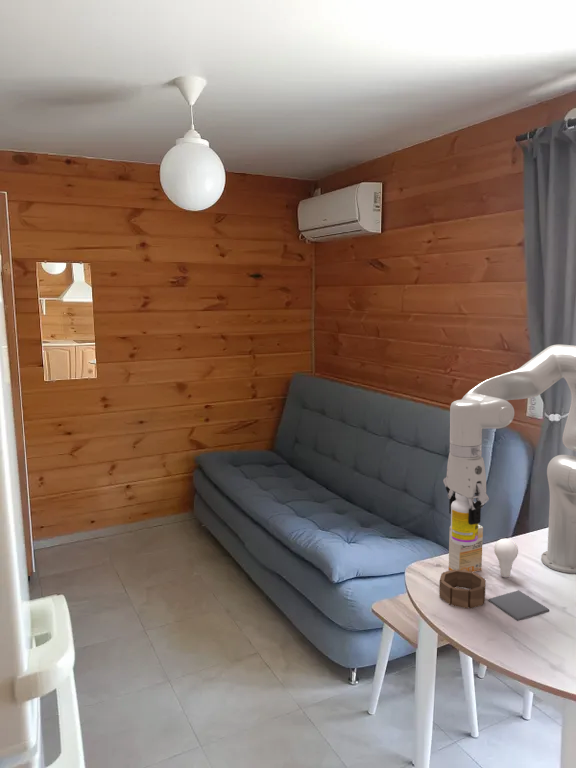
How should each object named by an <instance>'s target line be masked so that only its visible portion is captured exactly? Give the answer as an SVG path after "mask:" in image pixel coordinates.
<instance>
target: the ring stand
mask: <svg viewBox="0 0 576 768" xmlns="http://www.w3.org/2000/svg"><path fill="white" fill-rule="evenodd" d="M439 577H440V578H439V594H438V595H439V598H440V599H441V600H443V601H444V603H447V604H448V605H449V606H451V607H457V608H462V609H473V608H474V609H475V608H477V607H481V606H483V605H485V600H486V585H487V584H486V582H487V581H486V578H484V577H483V576H481V575H479V574H478V573H476V571H475V572H472V571H465V570H458V569H457V570H455V569H454V570H451V571H450V570H448V571H443V572H442V573H441V575H440V576H439Z"/></svg>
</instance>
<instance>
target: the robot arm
mask: <svg viewBox="0 0 576 768" xmlns="http://www.w3.org/2000/svg"><path fill="white" fill-rule="evenodd" d="M561 379H564V380H565V381H566V383H567V385H568V388H569V390H570V394H571V401H570V406H569V407H570V408H569V411H568V415H567V418H566V421H565V424H564V428H563V432H562V444H563V445H564V447H565V448H566V449H568V450H570V451H573V452H576V345H573V344H570V345H569V344H558V343H557V344H553V345H550V346H547V347H546V348H544V349H543V350H542V351H540V352H539V353H538V354H536V355H535V356H533V357H532V358H530V360H528V361H526V362H525V363H524V364H523V365H522V366H520V367H519V368H517V369H514V370H512V371H508V372H505V373H502V374H500V375H496V376H493V377H491V378H489V379H486V380H484V381H482V382H480V383H478V384H477V385H476V386H474V387H472V389H469V391H468V392H467V393H465V395H463V397H462V398H461V399H457V400H454V401H453V402H451V404H450V406H449V407H450V408H449V410H450V411H449V453H448V457H447V458H448V459H447V465H446V477H444V478H443V480H442V481H443V484H444V487H445V490H446V492H447V498H448V500H449V502H448V503H449V505H448V508H449V509H448V510H449V511H448V513H449V515H451V504H452V502H453V501H455V500H456V497H455V492H457V493H459V494H461V495H463V496H465V497H467V498H468V500H469V504H470V507H471V509H469V524H470V525H473V524H477V523H478V524H480V523H481V515H482V514H481V512H482V509H483V506H485V505H486V503H488V502H489V500H490V498H489V495H488V494H487V475H486V465H485V461H484V457H482V454H483V451H482V446H483V445H482V441H483V439H482V436H483V435H482V433H483V431H482V430H483V429H503V428H505V427H508V426H509V425H510V424H511V423H512V422H513V420H514V417H515V409H514V406H513V404H512V403H510V402H509V401H511V400H512V401H513V400H523V399H531V398H535V397H538V396H540V395H541V394H543V393H544V392H545V391H546V390H548V389H549V388H551V387H552V386H553V385H554V384H555V383H558V381H560V380H561ZM546 467H547V468H546V476H547V483H548V488H549V489H548V491H549V509H548V510H549V511H548V512H549V513H548V530H547V532H548V533H547V534H548V535H547V550H546V551H545V552H543V553H541V555H540V557H541V559H540V560H541V562H542V563H543V565H545V566H546V567H548V568H550V569H552V570H555V571H557V572H563V573H566V574H567V573H568V574H576V456H575V455H572V454H571V455H569V454H558V455H556V456H554V457H553V458H551V459H550V461H549V462H548V464H547V466H546ZM474 494H475V496H474ZM473 499H474V500H475V501H474V500H473ZM474 502H476V503H475V504H474Z"/></svg>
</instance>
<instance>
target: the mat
mask: <svg viewBox="0 0 576 768" xmlns="http://www.w3.org/2000/svg"><path fill="white" fill-rule="evenodd" d="M488 602H489V603H491V604H492V605H493V606H495V607H497V608H498V609H500V610H501V611H502V612H504V613H505V614H506V615H508V616H510V617H511V618H513V619H514V620H516V621H517V622H519V621H523V620H525V619H528V618H531V617H534V616H538V615H541V614H544V613H547V612H550V608H549V607H547V606H545V605H543V604H542V603H540V602H539V601H537V600H536V599H534V598H532V597H530V596H529V595H527V594H526V593H524V592H523V591H521V590H519V589H518V590H516V591H512V592H508V593H504V594H501V595H500V594H499V595H498V596H494V597H490V598H488Z"/></svg>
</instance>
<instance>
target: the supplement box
mask: <svg viewBox="0 0 576 768" xmlns="http://www.w3.org/2000/svg"><path fill="white" fill-rule="evenodd" d="M448 534H449V535H448V536H449V538H448V539H449V540H448V541H449V543H448V571H451V570H454V569H455V570H457V569H458V570H465V571H472V573H474V572H475V573H476V572H479V571H482V568H483V565H482V563H483V542H484V541H483V540H484V539H483V538H484V527H483V526H482V525H480V524H478V541H477V543H476V544H474V545H470V546H464V545H459V544H456V543H454V542H453V541H452V540H451V525H450V526H449V533H448Z"/></svg>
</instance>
